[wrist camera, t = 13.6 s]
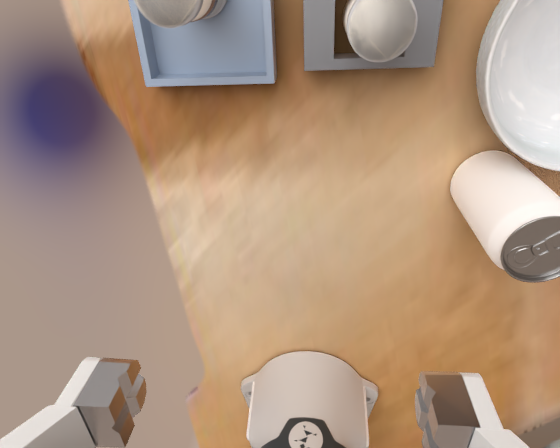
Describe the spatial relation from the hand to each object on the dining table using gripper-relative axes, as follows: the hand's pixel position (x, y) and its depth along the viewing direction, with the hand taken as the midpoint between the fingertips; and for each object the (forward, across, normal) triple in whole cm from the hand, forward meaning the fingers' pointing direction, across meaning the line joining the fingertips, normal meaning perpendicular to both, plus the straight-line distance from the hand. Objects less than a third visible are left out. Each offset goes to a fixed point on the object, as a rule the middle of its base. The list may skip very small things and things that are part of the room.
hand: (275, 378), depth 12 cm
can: (+29, +17, -7) cm, 35 cm away
